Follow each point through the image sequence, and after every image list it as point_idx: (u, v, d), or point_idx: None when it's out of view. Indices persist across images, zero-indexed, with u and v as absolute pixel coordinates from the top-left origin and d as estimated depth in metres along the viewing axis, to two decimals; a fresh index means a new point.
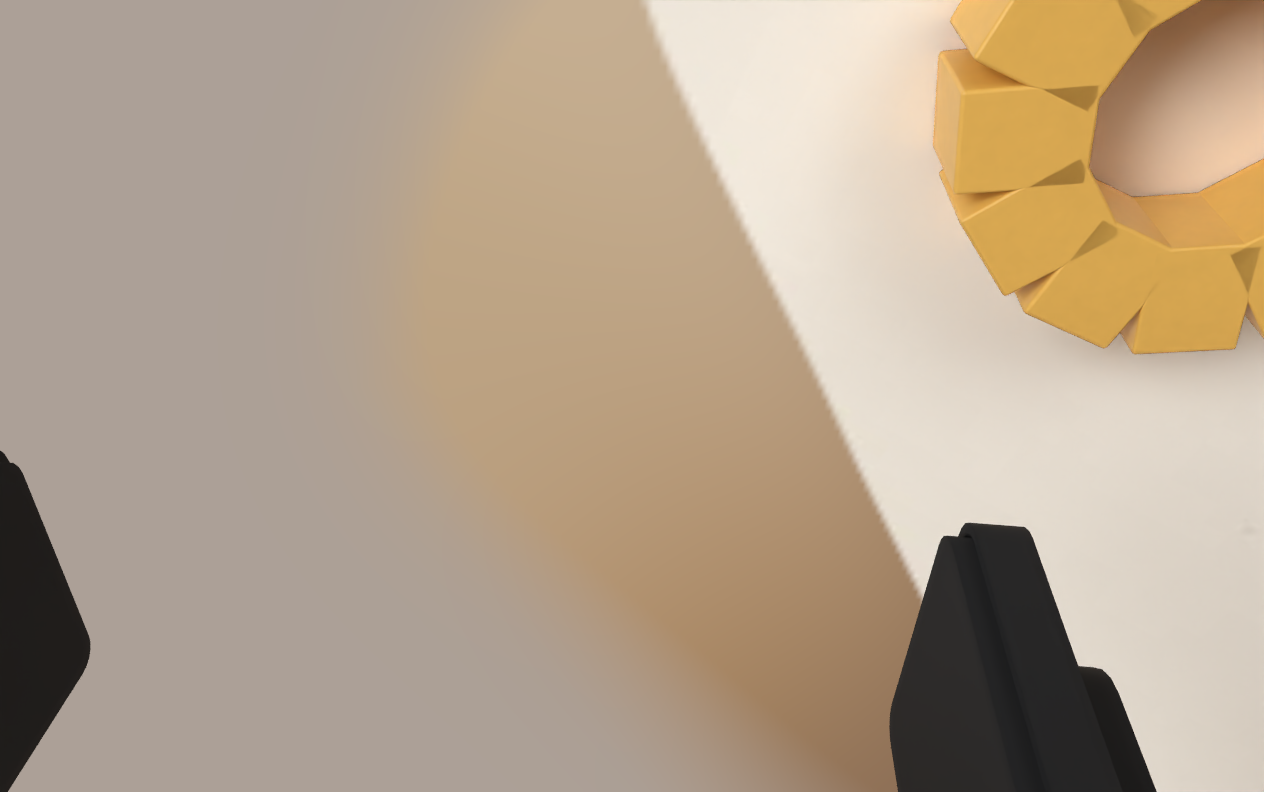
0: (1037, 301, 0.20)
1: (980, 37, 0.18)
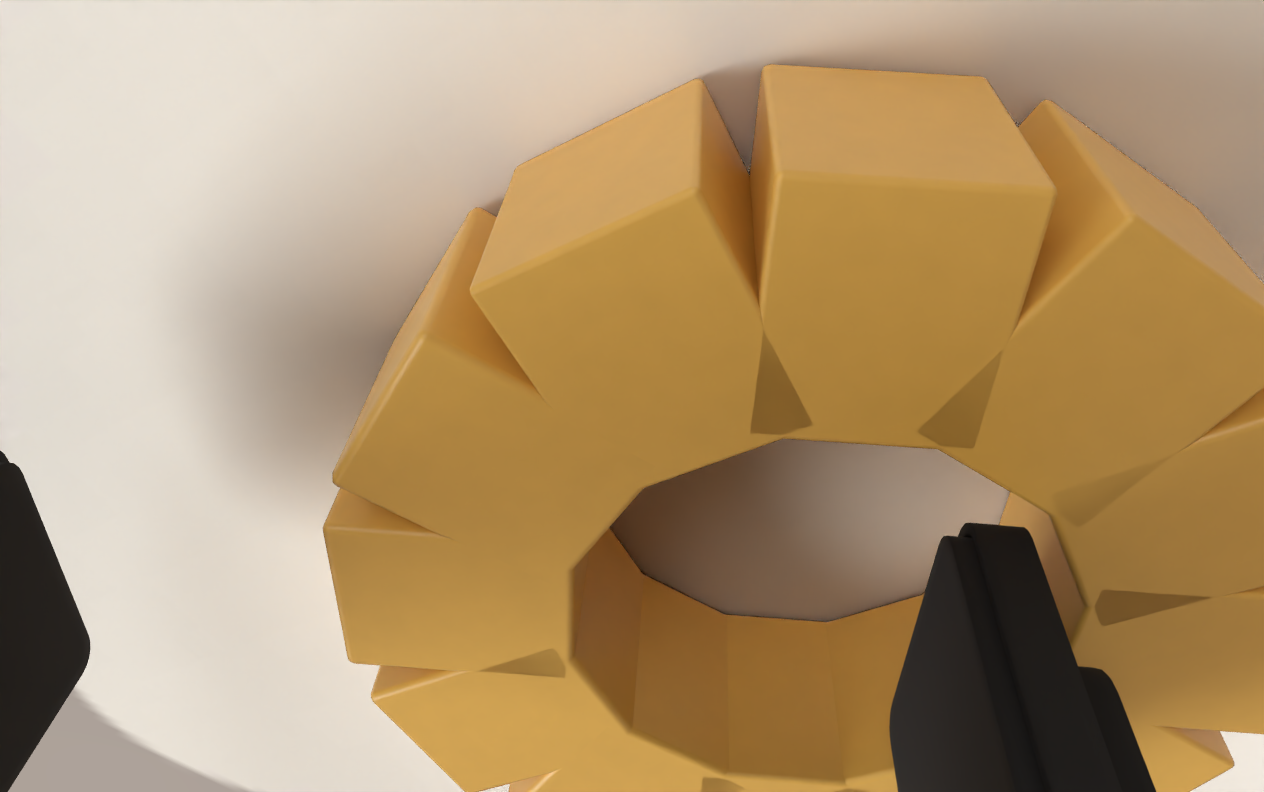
0: None
1: None
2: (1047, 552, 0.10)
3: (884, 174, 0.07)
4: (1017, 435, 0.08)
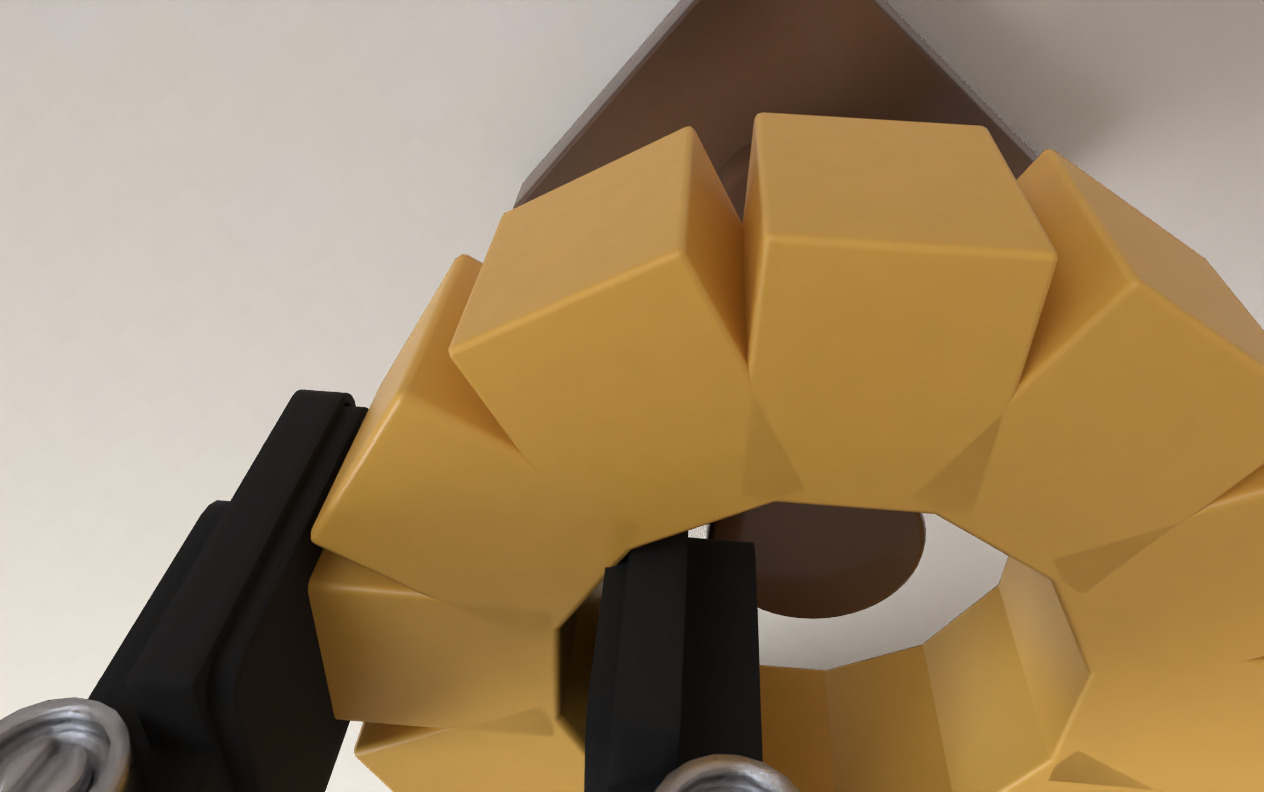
0: None
1: None
2: (1050, 610, 0.10)
3: (876, 239, 0.07)
4: (1017, 501, 0.08)
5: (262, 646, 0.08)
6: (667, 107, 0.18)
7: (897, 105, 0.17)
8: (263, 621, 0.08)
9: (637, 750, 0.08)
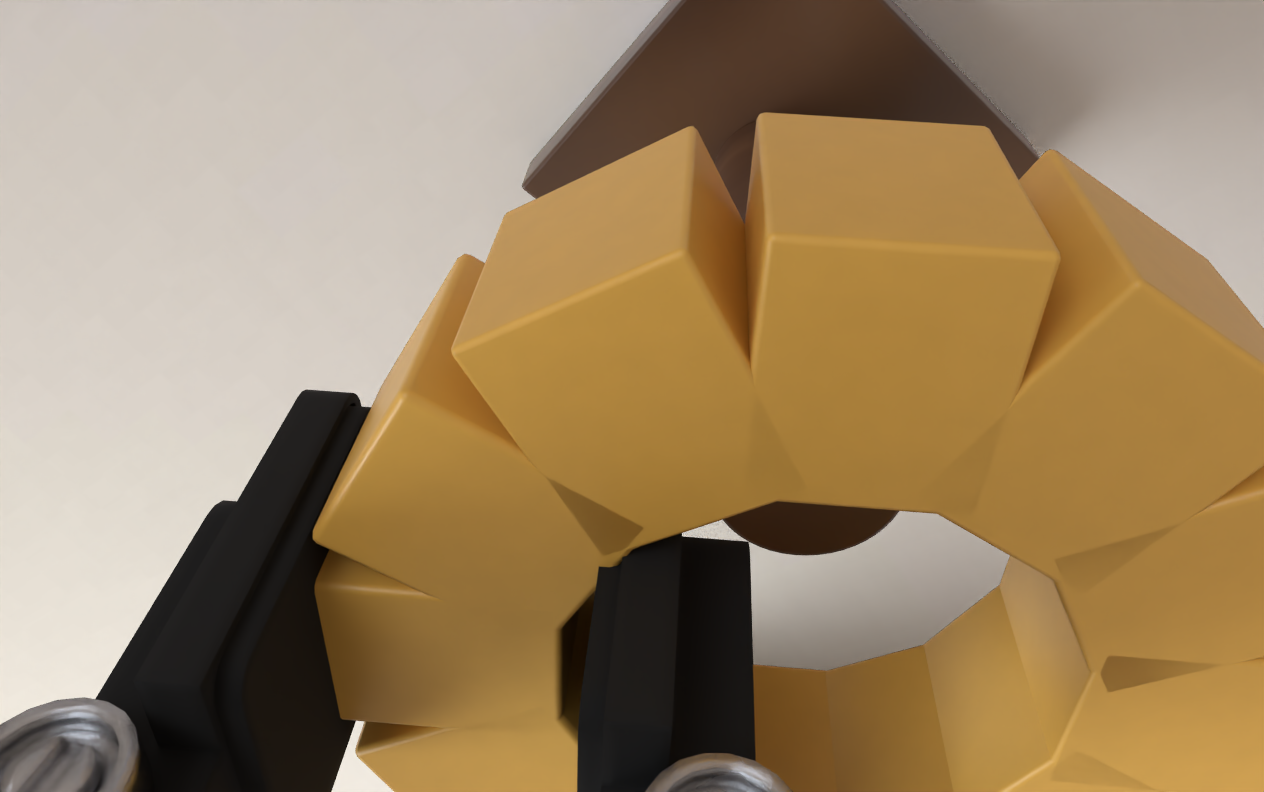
0: None
1: None
2: (1052, 610, 0.10)
3: (878, 239, 0.07)
4: (1019, 501, 0.08)
5: (270, 646, 0.08)
6: (670, 87, 0.18)
7: (889, 85, 0.18)
8: (271, 621, 0.08)
9: (629, 749, 0.08)
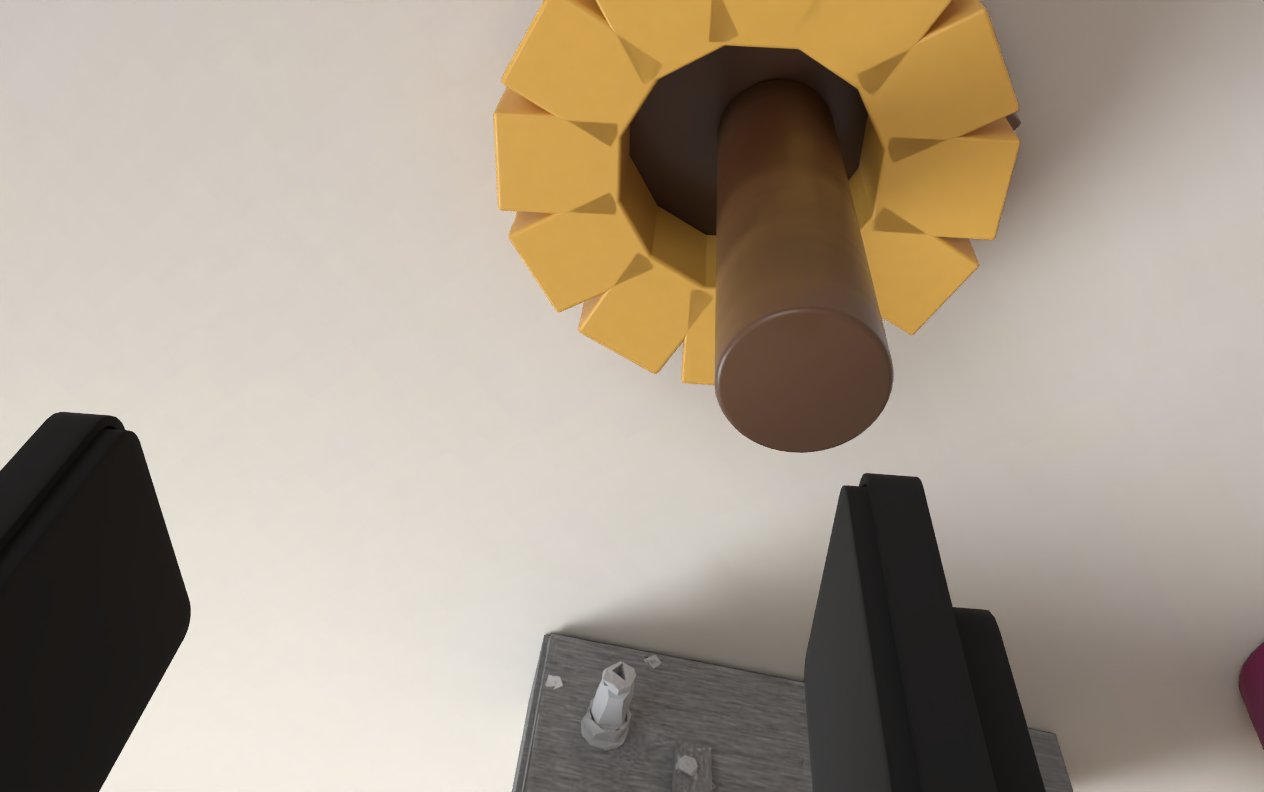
0: None
1: (550, 296, 0.21)
2: (874, 145, 0.20)
3: None
4: (836, 38, 0.17)
5: None
6: None
7: None
8: None
9: None
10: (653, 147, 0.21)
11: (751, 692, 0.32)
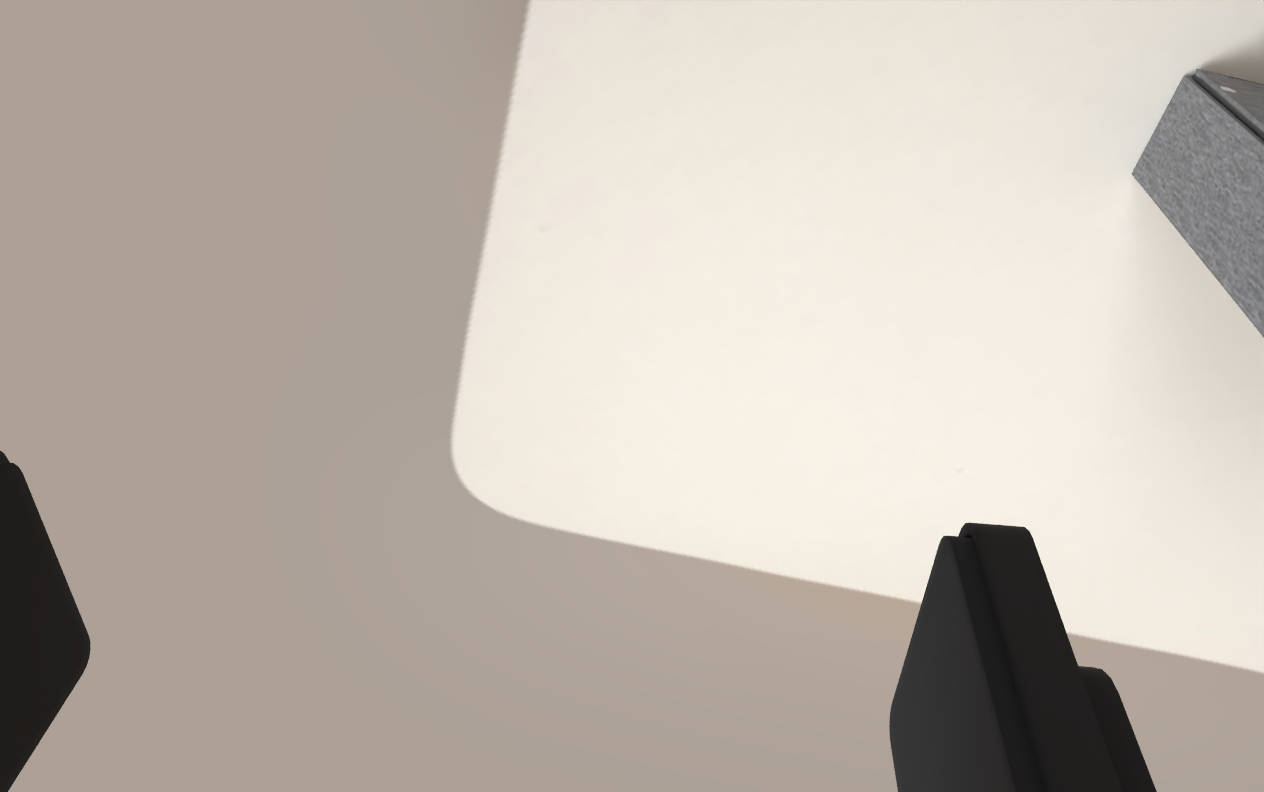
0: None
1: None
2: None
3: None
4: None
5: None
6: None
7: None
8: None
9: None
10: None
11: None
